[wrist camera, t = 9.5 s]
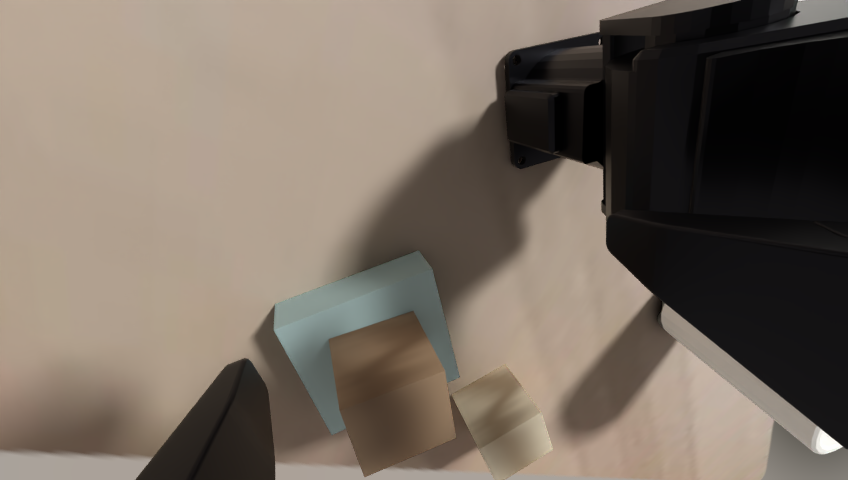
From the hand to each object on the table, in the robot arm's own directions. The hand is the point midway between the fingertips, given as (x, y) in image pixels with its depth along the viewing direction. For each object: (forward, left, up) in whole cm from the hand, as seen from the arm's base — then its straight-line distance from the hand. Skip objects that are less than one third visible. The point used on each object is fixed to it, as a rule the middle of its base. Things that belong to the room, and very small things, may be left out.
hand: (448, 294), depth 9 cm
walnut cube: (+2, +11, -10) cm, 15 cm away
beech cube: (-6, +21, -13) cm, 26 cm away
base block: (+2, +11, -14) cm, 17 cm away
